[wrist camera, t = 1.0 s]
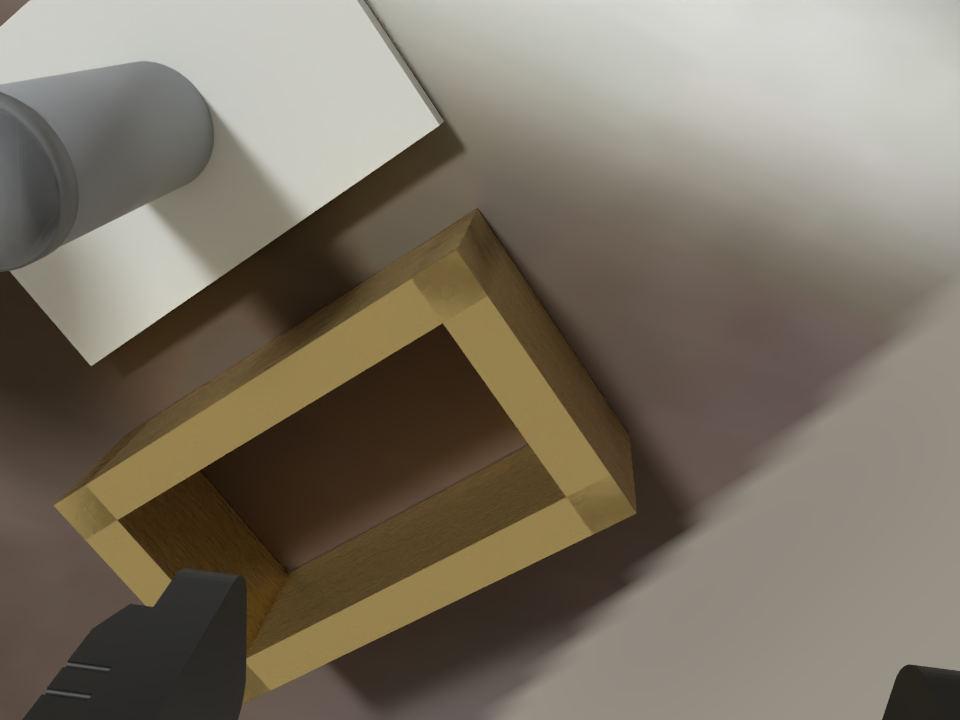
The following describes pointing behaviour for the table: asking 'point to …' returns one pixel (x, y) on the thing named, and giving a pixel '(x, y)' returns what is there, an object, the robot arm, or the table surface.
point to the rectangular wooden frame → (407, 536)
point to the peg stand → (181, 143)
